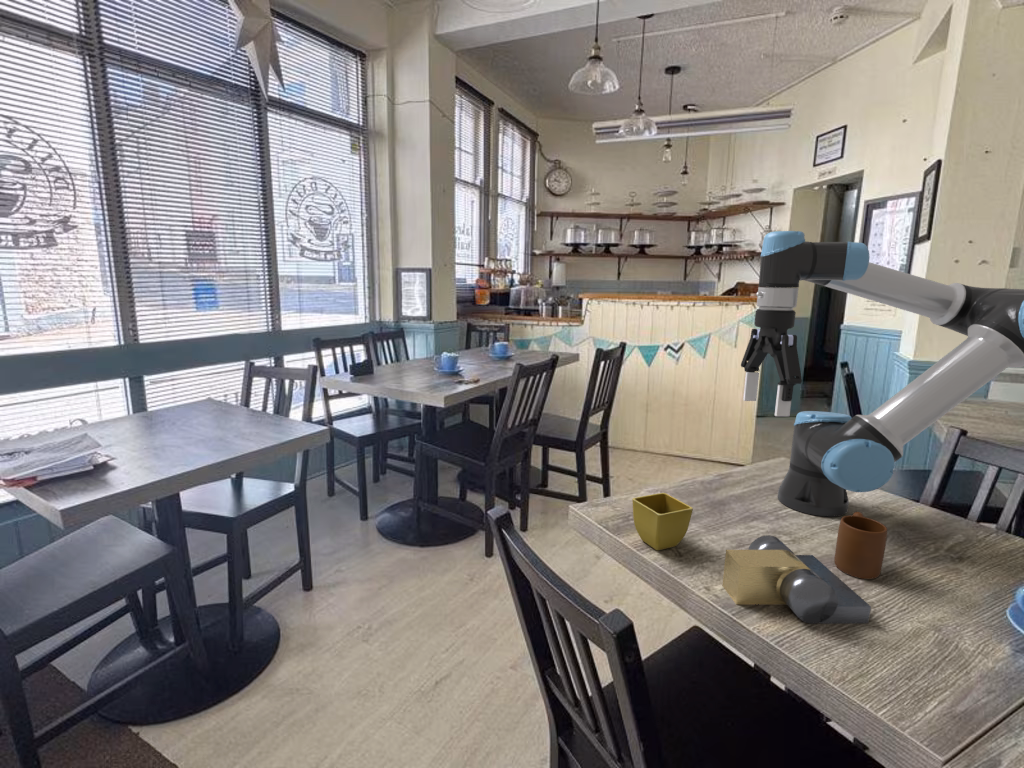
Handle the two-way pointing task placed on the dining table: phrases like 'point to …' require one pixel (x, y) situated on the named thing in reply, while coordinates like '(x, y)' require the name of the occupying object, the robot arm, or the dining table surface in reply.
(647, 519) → the flower pot
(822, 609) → the hinge base leaf
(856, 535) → the mug
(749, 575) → the brass curved block
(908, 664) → the dining table surface
